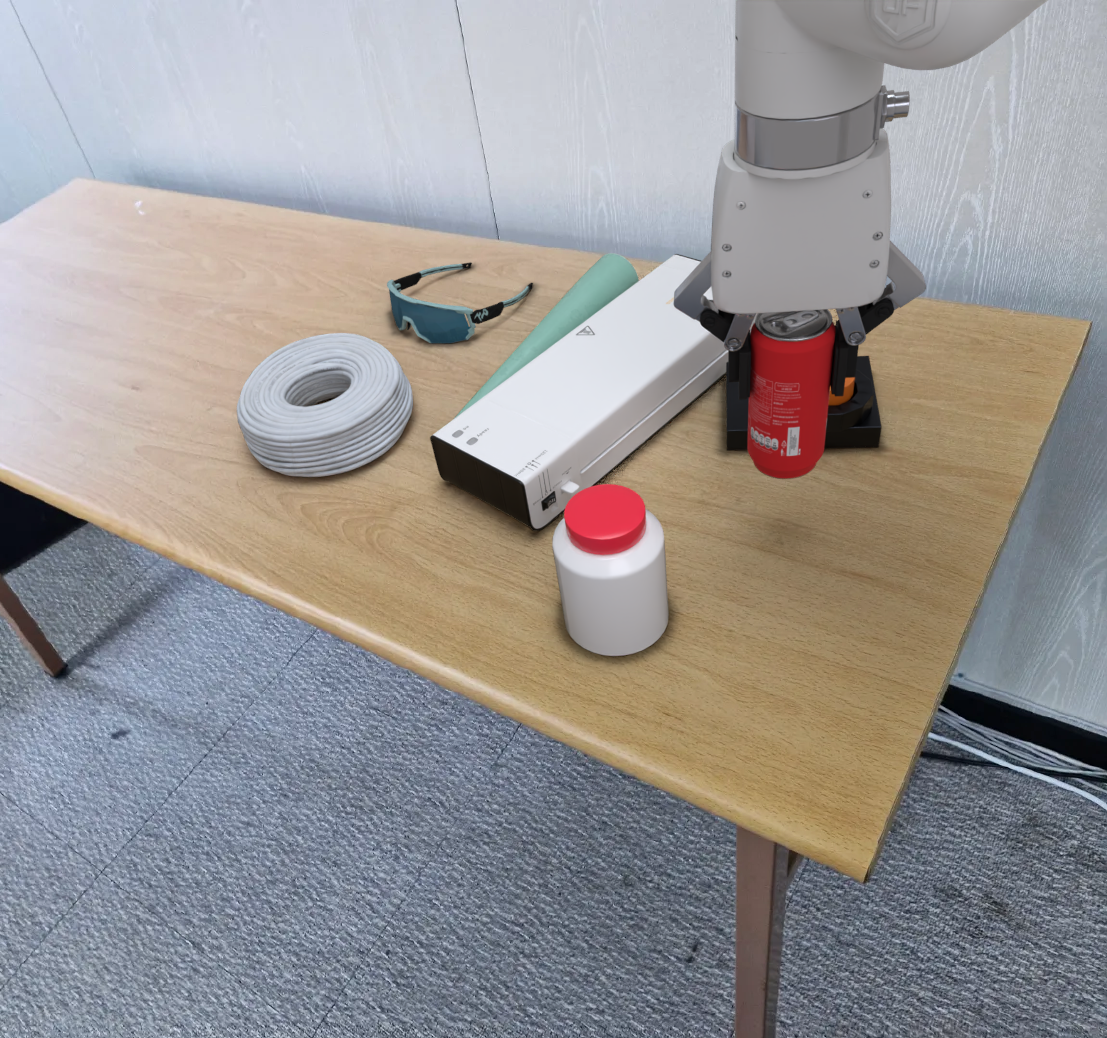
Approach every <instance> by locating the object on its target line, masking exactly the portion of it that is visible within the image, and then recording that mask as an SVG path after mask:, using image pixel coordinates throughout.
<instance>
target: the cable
mask: <svg viewBox="0 0 1107 1038" xmlns="http://www.w3.org/2000/svg"><path fill="white" fill-rule="evenodd" d="M239 394H240V395H239V398H238V400H237V403H236V420H237V423H238V425H239V428H240V430H241V433H242V435H243V439H244V441H245V443H246V445H247V448H248V450H249V452H250V453H251V455H252V456H253V457H254V458H255V459H256V460H257V462H259V464H261V465H262V466H263V467H265V468H267V469H268V470H271V471H273V472H276V473H279V474H281V475H285V476H288V477H289V476H290V477H302V478H318V477H319V478H320V477H327V476H329V477H330V476H333V475H339V474H343V473H346V472H350V471H352V470H355V469H358V468H360V467H363V466H365V465H367V464H369V463H371V462H373V461H375V460H376V459H378V458H380V457H381V456H383V455H384V454H385V453H387V452H388V451H389V450H390V449H391V448H392V447H393V446H394V445H395V444H397V442H398V441H399V439H400V438H401V436H402V434H403V432H404V431H405V429H406V426H407V424H408V422H409V420H410V418H411V416H412V412H413V409H414V396H413V388H412V385H411V382H410V380H409V379H408V377H407V375H406V374H405V372H404V371H403V368H402V366H401V364H400V362H399V361H398V360H397V359H396V357H395V356H394V354H392V352H390V350H389V349H387V348H386V347H385V346H383V345H382V344H381V343H379V342H377V341H375V340H374V339H373V340H372V339H371V338H369V337H367V336H364V335H361V334H357V333H350V332H333V333H324V334H317V335H312V336H308V337H304V338H301V339H298V340H295V341H293V342H290V343H288V344H286V345H283V346H281V347H280V348H279V349H277V350H275V351H273V352H272V353H270V354H269V355H268V356H267V357H266V358H264V359H263V360H262V361H261V362H260V363H259V364H258V365H257V366H256V367H255V368H254V369H253V371H252V372H251V373H250V374H249V376H248V378H247V379H246V380H245V383H244V384H243V386H242V389H241V391H240V393H239ZM329 399H331V400H329ZM326 400H328V401H326ZM323 401H326V402H323ZM320 402H323V403H320ZM318 403H319V404H318Z"/></svg>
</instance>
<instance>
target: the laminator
mask: <svg viewBox="0 0 1107 1038" xmlns="http://www.w3.org/2000/svg"><path fill="white" fill-rule="evenodd" d="M701 261H702V260H701V259H697V258H693V257H690V256H686V255H683V254H680V253H674V254H673V255H672V256H670V257H669V258H668V259H666V260H665V261H663V262H662V263H661V264H660V265H658V266H656V267H655V268H654V269H653V270H651V271H650V272H648V273H647V274H646V275H645V276H643V277H642V278H641V279H639V281H638V282H637V283H635V284H634V285H633V286H631V287H630V288H629V289H627V290H626V291H625V292H623V293H622V294H621V295H619V296H618V297H617V298H615V299H614V300H613V301H611V302H610V303H609V304H607V305H606V306H605V307H603V308H602V309H601V310H599V311H598V312H597V313H595V314H594V315H593V316H591V317H590V318H589V319H587V320H586V321H585V322H583V323H582V324H581V325H579V326H578V327H576V328H575V329H574V330H572V331H571V332H570V333H568V334H567V335H566V336H564V337H563V338H562V339H560V340H559V341H558V342H556V343H555V344H554V345H552V346H551V347H550V348H548V349H547V350H546V351H544V352H543V353H542V354H540V355H539V356H538V357H536V358H535V359H534V360H532V361H531V362H530V363H528V364H527V365H526V366H524V367H523V368H521V369H520V370H519V371H517V372H516V373H515V374H513V375H512V376H511V377H509V378H508V379H507V380H505V381H504V382H503V383H501V384H500V385H499V386H497V387H496V388H495V389H493V390H492V391H491V392H489V393H488V394H487V395H485V396H484V397H483V398H481V399H480V400H479V401H477V402H476V403H475V404H473V405H472V406H471V407H469V408H468V409H467V410H465V411H464V412H462V413H461V414H460V415H458V416H457V417H456V416H455V417H456V418H455V417H453V419H452V420H450V421H449V422H448V423H446V424H445V425H444V426H442V427H440V428H439V429H438V430H437V431H436V432H434V433H433V434H431V435H430V436H429V440H430V444H431V447H432V452H433V456H434V459H435V463H436V467H437V472H438V474H439V477H440V478H441V479H442V480H443V482H446V483H447V482H448V483H450V484H452V485H454V486H456V487H458V488H459V489H461V490H463V491H465V492H467V494H470V495H472V496H473V497H475V498H477V499H479V500H481V501H482V502H485V503H486V504H487V505H489V506H492V507H493V508H495V509H497V510H499V511H500V512H502V513H503V514H505V515H508V516H509V517H511V518H513V519H515V521H518V522H520V523H522V524H523V525H525V526H527V527H528V528H529V529H531V530H532V531H533V532H539V531H542V530H543V529H545V528H546V527H548V526H549V525H550V524H552V522H553V521H555V520H556V519H557V518H559V516H561V515H562V514H564V511H565V507H566V505H567V503H568V501H569V500H570V499H571V498H572V497H573V496H574V495H575V494H577V493H578V492H580V491H582V490H584V489H586V488H589V487H591V486H596V485H598V484H599V482H601V481H602V480H603V479H605V478H606V477H607V476H608V475H609V474H610V473H611V472H613V471H614V470H615V469H616V468H618V466H619V465H622V463H623V462H624V461H625V460H626V459H628V458H629V457H630V456H631V455H632V454H634V453H635V452H636V451H637V450H639V448H641V447H642V446H643V445H644V444H646V443H647V442H649V440H650V439H651V438H652V437H654V436H656V434H657V433H659V431H661V430H662V429H663V428H664V427H666V426H667V425H668V424H669V423H670V422H671V421H673V420H674V419H675V418H676V417H678V416H679V415H680V414H681V413H682V412H683V411H685V410H686V409H687V408H688V407H690V405H691V404H692V403H694V402H695V401H696V400H697V399H698V398H700V397H701V396H702V395H703V394H705V393H706V392H707V391H708V390H709V389H711V387H713V386H714V385H715V384H717V382H719V381H720V380H721V379H722V378H723V377H725V376H726V363H727V362H728V350H727V349H726V348H725V347H724V342H722V341H721V340H720V339H718V338H717V337H716V336H714V335H713V334H712V333H710V332H709V331H708V330H706V329H705V328H704V327H702V326H701V324H700V322H699V321H697V320H696V319H695V320H694V319H692V318H691V317H689V316H687V315H686V314H684V313H683V312H681V311H679V310H678V309H676V308H675V307H674V292H675V290H676V289H677V288H678V287H679V286H680V284H681V283H682V282H683V281H684V280H685V279H686V278H687V277H688V276H689V274H690V273H691V272H692V271H693V270H694V269H695V268H696V267H697V266H698V265H699V263H700V262H701ZM703 295H704V296H706V297H707V299H708V300H713V296H712V287H710V288H709V289H708V290H707V291H706V292H705V293H704V294H703ZM757 314H758V313H756V315H757ZM756 315H755V317H754V320H753V322H752V325H751V327H750V329H749V330H750V336H751V328H752V326H753V324H754V323H755V318H756Z"/></svg>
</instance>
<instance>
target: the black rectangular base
mask: <svg viewBox="0 0 1107 1038" xmlns="http://www.w3.org/2000/svg"><path fill="white" fill-rule="evenodd" d="M725 405H726V406H725V407H726V408H725V411H726V413H725V414H726V415H725V418H726V419H725V420H726V421H725V423H726V425H725V428H726V430H725V431H726V433H725V434H726V439H725V440H726V441H725V442H726V443H725V444H726V451H748V448H747V445H748V408H749V397H747V399H744V400H739V382H728V362H727V363H726V374H725ZM881 433H882V422H881V417H880V411H879V405H878V399H877V393H876V388H875V383H874V377H873V371H872V364H871V359H870V356H869V355H858V356H857V365H856V374H855V382H854V390H853V395H852V397H851V399H850V400H849V401H847V402H845V403H843V404H840V405H833V406H828V414H827V424H826V435H825V445H824V449H858V448H859V449H862V448H863V449H864V448H865V449H866V448H879V447H880V441H881Z"/></svg>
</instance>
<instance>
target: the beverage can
mask: <svg viewBox="0 0 1107 1038" xmlns="http://www.w3.org/2000/svg"><path fill="white" fill-rule="evenodd" d="M835 325H836V324H835V323H834V321H833V315H832V312H831V311H830V309H825V310H809V311H793V312H774V313H758V314H757V315H756V318H755V323H754V324H753V326H752V328H751V336H750V342H751V376H750V397H749V408H748V445H747V448H748V450H747V453H748V456H749V457H750V458H751V460H752V462H753V465H754V467H755V468H756V470H758V472H760V473H761V474H762V475H765V476H767V477H769V478H772V479H777V480H794V479H798V478H801V477H804V476H806V475H808V474H810V473H811V472H812V471H813V470H814V469H815V468H816V466H817V463H818V462H819V461H820V459H821V458H822V457H823V455H824V452H825V448H824V445H825V435H826V424H827V414H828V404H829V393H830V383H831V372H832V362H833V352H834V341H835Z"/></svg>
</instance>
